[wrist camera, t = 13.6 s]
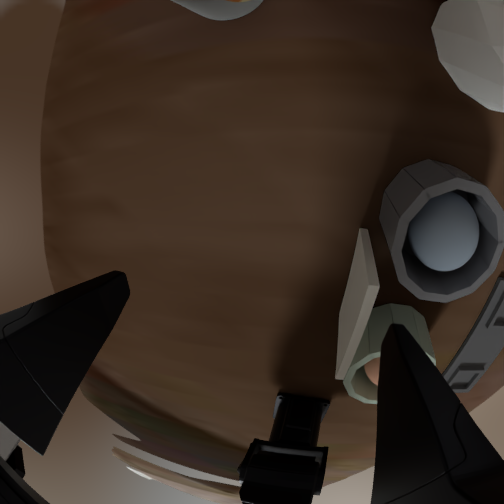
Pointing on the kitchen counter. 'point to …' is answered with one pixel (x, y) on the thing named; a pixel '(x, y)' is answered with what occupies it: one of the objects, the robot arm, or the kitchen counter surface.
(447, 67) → the vase
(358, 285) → the dot card
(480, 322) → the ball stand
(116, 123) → the kitchen counter surface
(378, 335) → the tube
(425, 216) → the ball slate
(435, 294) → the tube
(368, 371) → the ball terracotta
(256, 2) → the lotion bottle
